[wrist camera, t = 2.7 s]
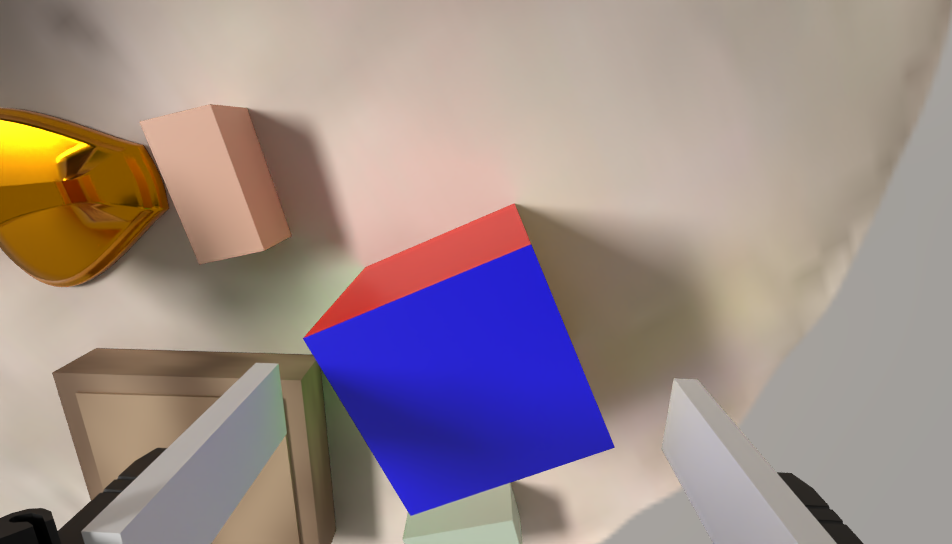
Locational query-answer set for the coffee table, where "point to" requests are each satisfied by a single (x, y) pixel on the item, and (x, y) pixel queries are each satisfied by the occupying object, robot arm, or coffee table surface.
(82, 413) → the walnut slab
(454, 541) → the sage brick
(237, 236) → the terracotta brick
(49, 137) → the figurine
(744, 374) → the coffee table surface
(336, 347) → the cube
